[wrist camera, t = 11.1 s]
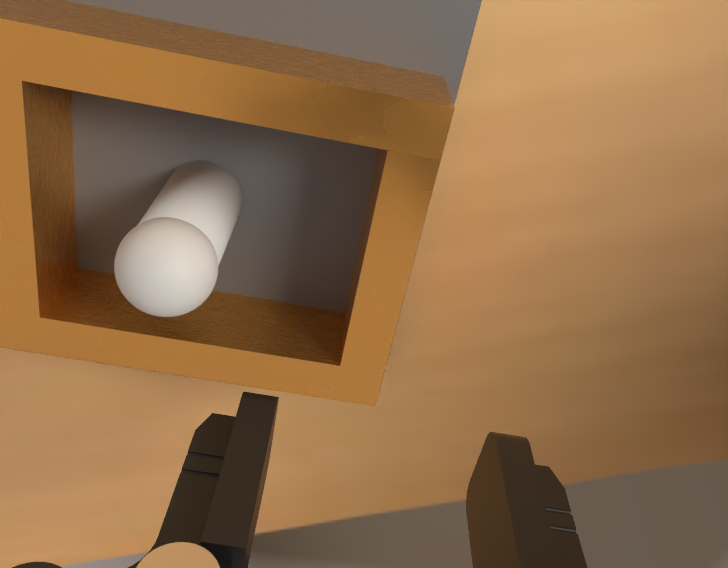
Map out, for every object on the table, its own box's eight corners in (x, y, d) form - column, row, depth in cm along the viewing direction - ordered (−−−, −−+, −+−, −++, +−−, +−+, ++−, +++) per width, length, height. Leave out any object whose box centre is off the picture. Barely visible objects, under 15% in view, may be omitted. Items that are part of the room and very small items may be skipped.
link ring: (444, 76, 19) (454, 107, 17) (375, 349, 24) (375, 405, 22) (14, -10, 18) (-45, 9, 16) (38, 294, 23) (-4, 346, 21)
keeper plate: (514, -160, 17) (590, -179, 11) (376, 370, 27) (377, 520, 21) (-41, -290, 16) (-299, -391, 10) (18, 312, 26) (-98, 453, 19)
